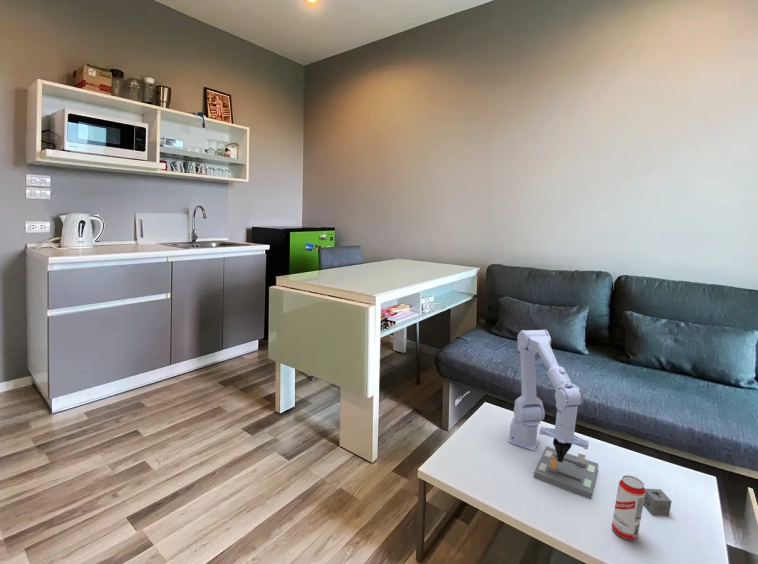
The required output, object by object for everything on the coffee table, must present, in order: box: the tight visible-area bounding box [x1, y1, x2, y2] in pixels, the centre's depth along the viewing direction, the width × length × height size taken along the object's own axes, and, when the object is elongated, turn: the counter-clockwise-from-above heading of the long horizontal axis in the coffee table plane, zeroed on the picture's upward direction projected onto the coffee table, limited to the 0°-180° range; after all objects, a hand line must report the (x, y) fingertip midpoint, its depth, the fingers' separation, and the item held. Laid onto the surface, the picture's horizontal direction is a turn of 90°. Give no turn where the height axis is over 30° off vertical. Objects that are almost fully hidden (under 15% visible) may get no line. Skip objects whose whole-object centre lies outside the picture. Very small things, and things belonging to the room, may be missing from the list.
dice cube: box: [643, 487, 672, 517], centre depth 121 cm, size 5×5×5 cm
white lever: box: [576, 450, 586, 468], centre depth 138 cm, size 3×2×4 cm
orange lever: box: [548, 456, 559, 473], centre depth 135 cm, size 3×2×4 cm
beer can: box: [611, 475, 646, 541], centre depth 111 cm, size 6×6×16 cm
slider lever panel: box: [533, 445, 599, 500], centre depth 137 cm, size 17×18×2 cm
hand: (560, 460), depth 133 cm, fingers closed
